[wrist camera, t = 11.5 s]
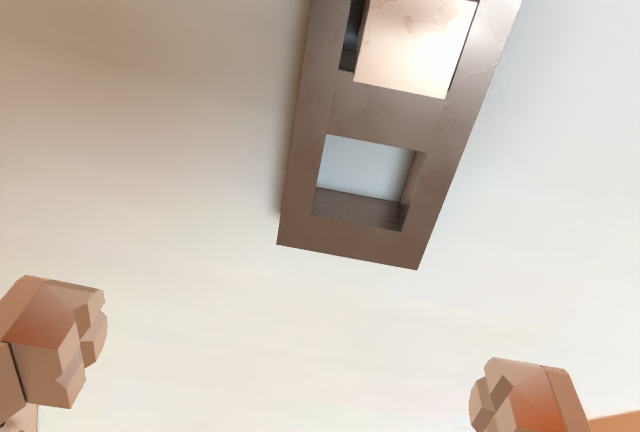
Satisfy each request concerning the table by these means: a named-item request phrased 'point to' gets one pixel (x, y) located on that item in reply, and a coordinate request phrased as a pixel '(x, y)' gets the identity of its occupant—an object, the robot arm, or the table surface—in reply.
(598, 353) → the table surface
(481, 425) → the robot arm
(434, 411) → the table surface
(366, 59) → the block
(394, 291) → the table surface
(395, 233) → the rail
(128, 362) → the table surface
